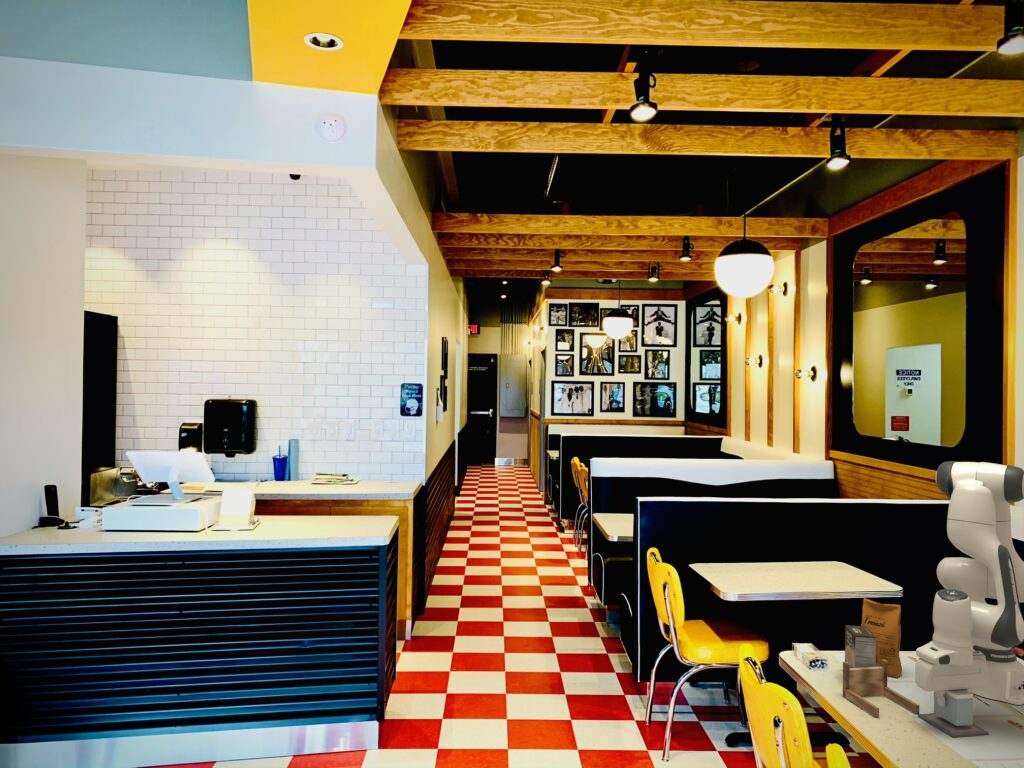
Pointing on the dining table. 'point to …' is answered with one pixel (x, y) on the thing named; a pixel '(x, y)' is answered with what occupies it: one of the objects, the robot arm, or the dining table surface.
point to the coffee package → (884, 633)
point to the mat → (952, 726)
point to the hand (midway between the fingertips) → (952, 704)
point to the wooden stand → (871, 688)
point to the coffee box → (860, 647)
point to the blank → (956, 707)
